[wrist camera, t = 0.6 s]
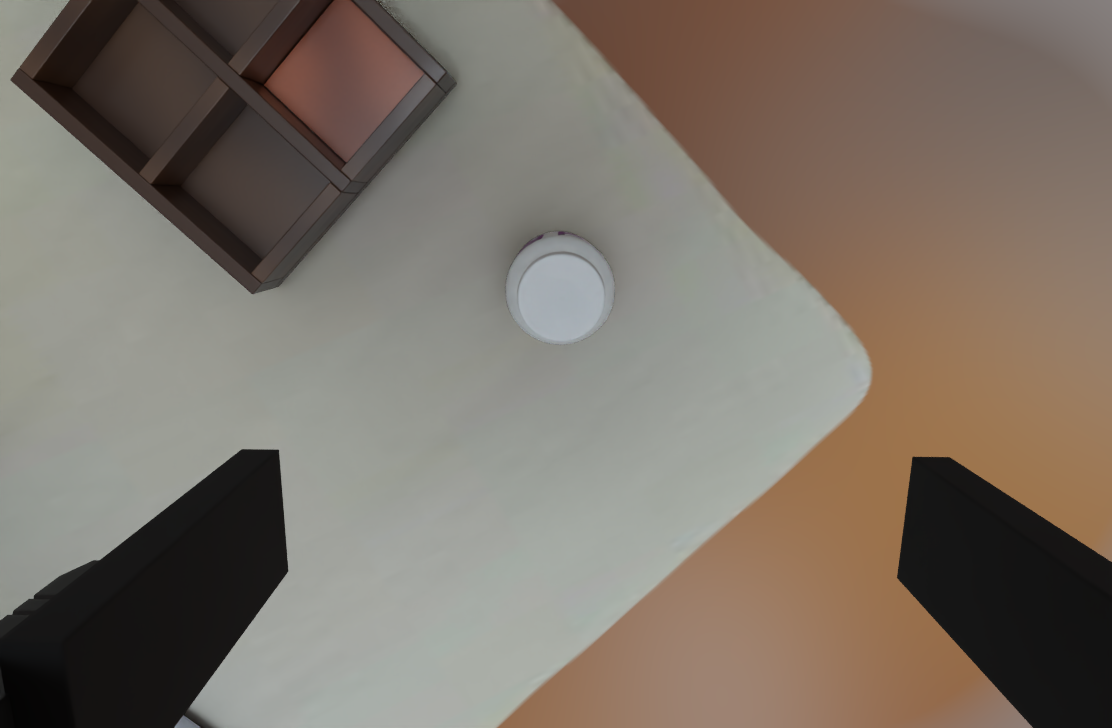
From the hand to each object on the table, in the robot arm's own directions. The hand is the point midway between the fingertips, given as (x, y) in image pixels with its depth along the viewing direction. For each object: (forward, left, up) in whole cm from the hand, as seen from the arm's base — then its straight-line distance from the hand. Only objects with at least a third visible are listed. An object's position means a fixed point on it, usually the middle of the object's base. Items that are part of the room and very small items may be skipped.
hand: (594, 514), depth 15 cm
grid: (+3, -21, -28) cm, 35 cm away
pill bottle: (-1, -2, -28) cm, 28 cm away
